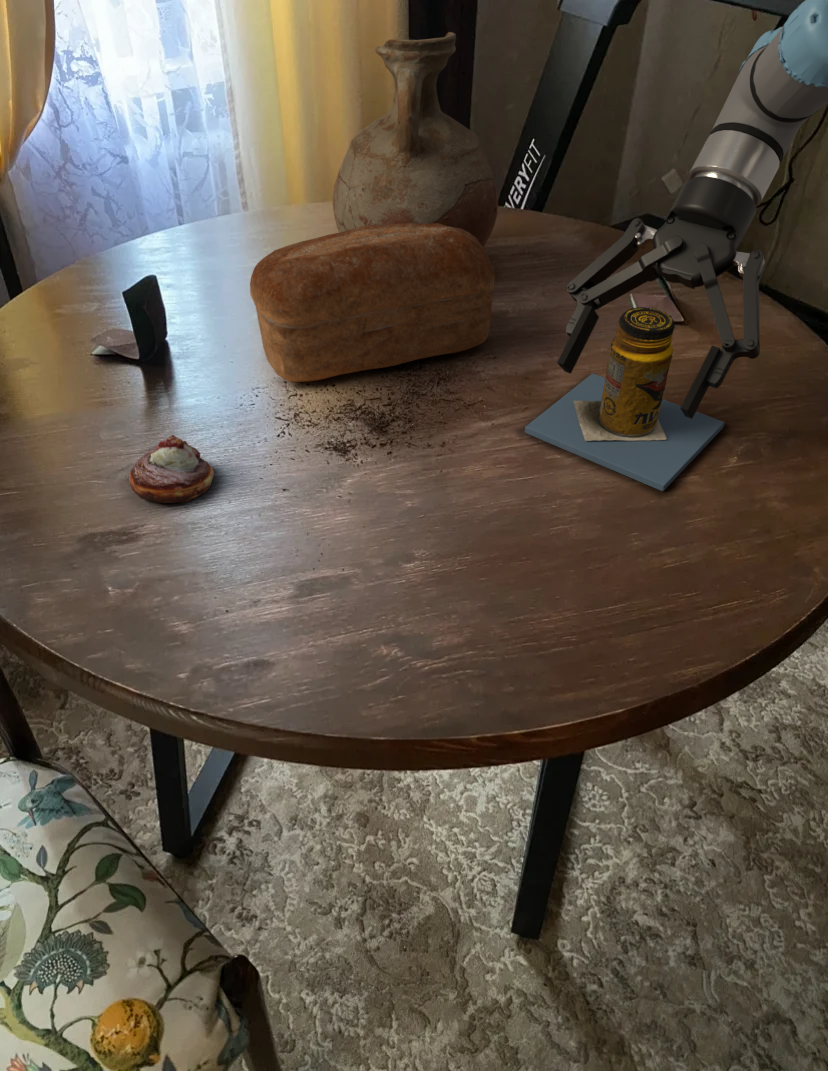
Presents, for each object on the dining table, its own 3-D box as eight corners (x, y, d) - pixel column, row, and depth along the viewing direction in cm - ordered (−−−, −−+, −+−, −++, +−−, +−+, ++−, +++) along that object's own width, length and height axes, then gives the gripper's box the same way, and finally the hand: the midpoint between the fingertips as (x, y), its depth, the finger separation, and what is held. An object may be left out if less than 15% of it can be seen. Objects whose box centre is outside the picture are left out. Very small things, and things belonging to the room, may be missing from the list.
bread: (252, 349, 102) (235, 233, 93) (462, 310, 110) (466, 199, 100) (276, 399, 94) (260, 277, 84) (502, 353, 101) (511, 236, 92)
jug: (477, 243, 126) (488, 11, 106) (509, 309, 110) (529, 50, 90) (333, 252, 124) (316, 17, 104) (344, 320, 108) (327, 57, 88)
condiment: (666, 440, 86) (692, 334, 78) (584, 442, 86) (601, 336, 78) (650, 402, 91) (672, 299, 84) (572, 403, 91) (587, 300, 83)
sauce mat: (723, 428, 89) (725, 421, 89) (662, 492, 81) (664, 485, 80) (591, 379, 97) (592, 372, 96) (524, 433, 89) (524, 426, 88)
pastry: (224, 465, 85) (216, 424, 81) (197, 512, 79) (188, 470, 76) (149, 457, 86) (138, 416, 82) (118, 503, 80) (105, 461, 77)
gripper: (851, 244, 80) (747, 445, 81) (617, 187, 91) (529, 363, 93) (852, 203, 73) (738, 423, 74) (599, 147, 85) (505, 338, 86)
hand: (622, 390), depth 83 cm, fingers open, 13 cm apart
